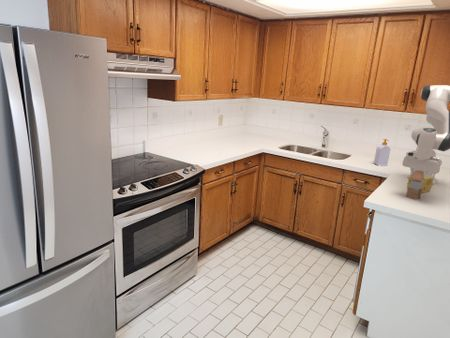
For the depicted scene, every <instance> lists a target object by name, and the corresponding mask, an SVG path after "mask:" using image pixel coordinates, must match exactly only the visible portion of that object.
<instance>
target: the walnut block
mask: <svg viewBox="0 0 450 338" xmlns="http://www.w3.org/2000/svg"><path fill="white" fill-rule="evenodd" d="M421 192H422V189H420V190H415V189H411V188H407V191H406V194H405V197H406V198H409V199H412V200H415V201H416V200H419V199H420V198H421V196H422V193H421Z"/></svg>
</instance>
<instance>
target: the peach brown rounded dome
mask: <svg viewBox="0 0 450 338" xmlns="http://www.w3.org/2000/svg"><path fill="white" fill-rule="evenodd" d="M423 174H424V172H422V171H417V170H416V171H414V176H413V179H414V180H418V181H422V175H423Z"/></svg>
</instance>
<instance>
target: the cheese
mask: <svg viewBox="0 0 450 338" xmlns="http://www.w3.org/2000/svg"><path fill="white" fill-rule="evenodd" d="M409 175H410V174H409ZM411 180H414V179H413V176H412V175H410V177H408V180H407V181H408V182H407V186H406V188H407V189H408V188H409V187H410V183H411ZM422 181H423V183H422V187H421V189H422V192H421V194H422V193H428V192H429V193H430V192H431V190H432V189H431V188H432V186H433V185H434V184H433V178H432V177H428V176H426V178H425V179H424V178H422Z"/></svg>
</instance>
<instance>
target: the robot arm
mask: <svg viewBox="0 0 450 338" xmlns="http://www.w3.org/2000/svg"><path fill="white" fill-rule="evenodd" d="M420 99H421V100H422V101H423V102H426V104H425V112H426V116H425V117H426V123H428V124H430V125H431V126H432V127H433V128H431V127H424V126H423V127H415V128H414V129H413V130H412V131H411V134H410V136H411V139H412V141H414V142H415V144H416V149H415V150H411V151H407V152H406V155H404V158H403V160H402V166H403V167H404V168H409V170H410V174H409V175H407V178H409V177H410V175H412V176H414V171H416V170H417V171H422V172H424V174H423V175H422V178H424V179H425V178H426V176H428V177H432V178H433V184H432V185H435V184H436V183H437V181H438V178H435V177H436V175H437V174H439V173H440V171H441V170H440V169H441V165H442V163H443V162H442V159H441V158H439V157H436V156H437V152H436V150H437V151H440V152H446V151H448V150H450V110H448V103H450V85H446V84H441V85H440V84H437V85H435V84H434V85H431V84H428V85H425V86H423V87H422V89H421V91H420Z"/></svg>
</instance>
